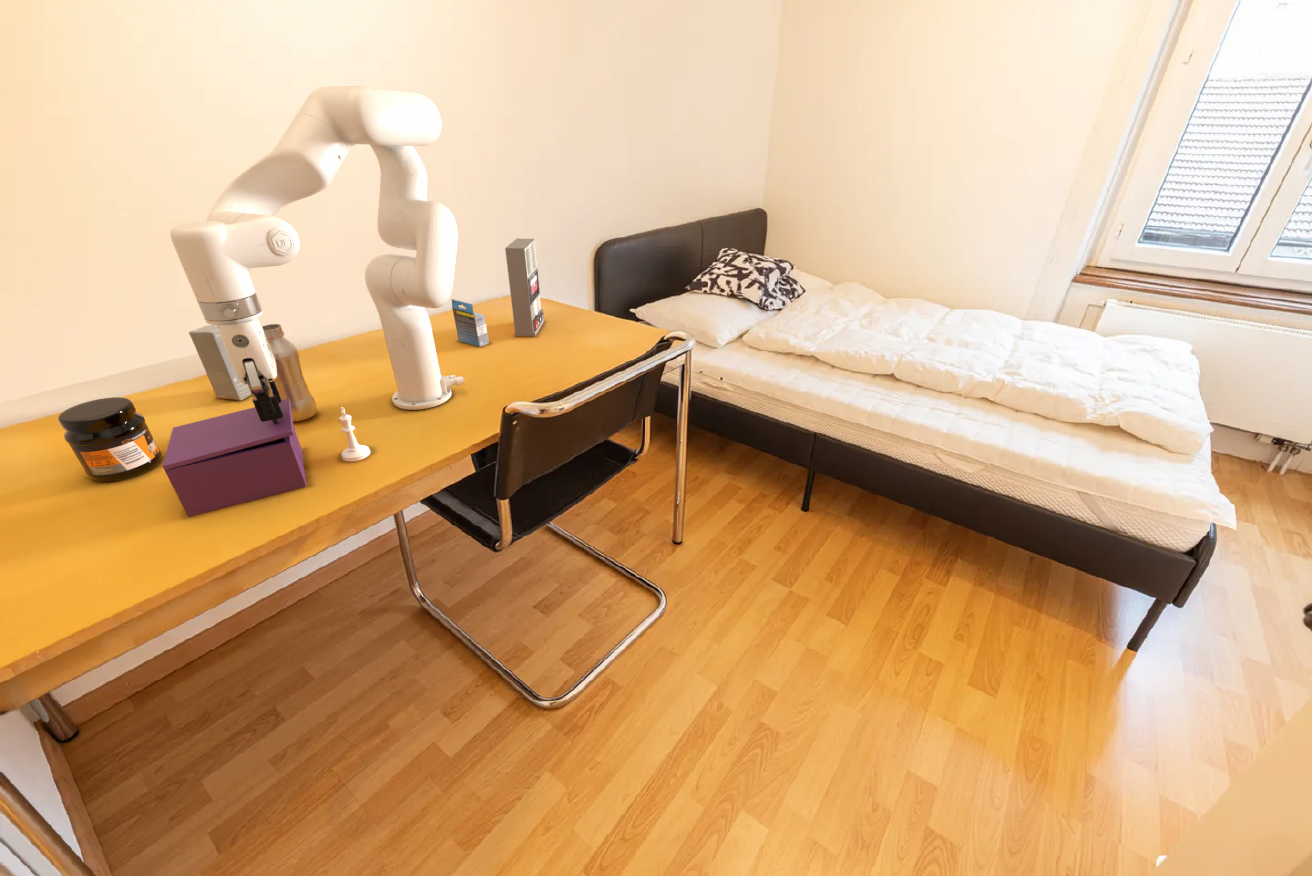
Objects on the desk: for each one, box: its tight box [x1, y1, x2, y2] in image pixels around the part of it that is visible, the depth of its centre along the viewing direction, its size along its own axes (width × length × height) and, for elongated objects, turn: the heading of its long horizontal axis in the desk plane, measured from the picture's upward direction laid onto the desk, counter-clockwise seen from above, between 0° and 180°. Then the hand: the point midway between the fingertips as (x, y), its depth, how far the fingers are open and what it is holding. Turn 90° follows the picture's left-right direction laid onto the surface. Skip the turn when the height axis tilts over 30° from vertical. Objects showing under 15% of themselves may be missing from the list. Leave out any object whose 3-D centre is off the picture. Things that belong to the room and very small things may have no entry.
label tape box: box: [451, 298, 490, 348], centre depth 155 cm, size 9×4×12 cm, turn 58°
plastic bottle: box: [261, 323, 318, 422], centre depth 114 cm, size 6×7×20 cm
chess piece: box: [338, 406, 371, 462], centre depth 103 cm, size 5×5×10 cm
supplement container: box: [57, 396, 162, 482], centre depth 98 cm, size 10×10×12 cm
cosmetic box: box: [188, 324, 252, 401], centre depth 125 cm, size 8×7×16 cm
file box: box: [164, 426, 307, 517], centre depth 96 cm, size 17×14×9 cm
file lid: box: [161, 387, 294, 471], centre depth 92 cm, size 18×14×6 cm
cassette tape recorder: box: [504, 238, 545, 338], centre depth 163 cm, size 14×6×25 cm, turn 179°
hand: (271, 410), depth 95 cm, fingers closed on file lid, 5 cm apart
